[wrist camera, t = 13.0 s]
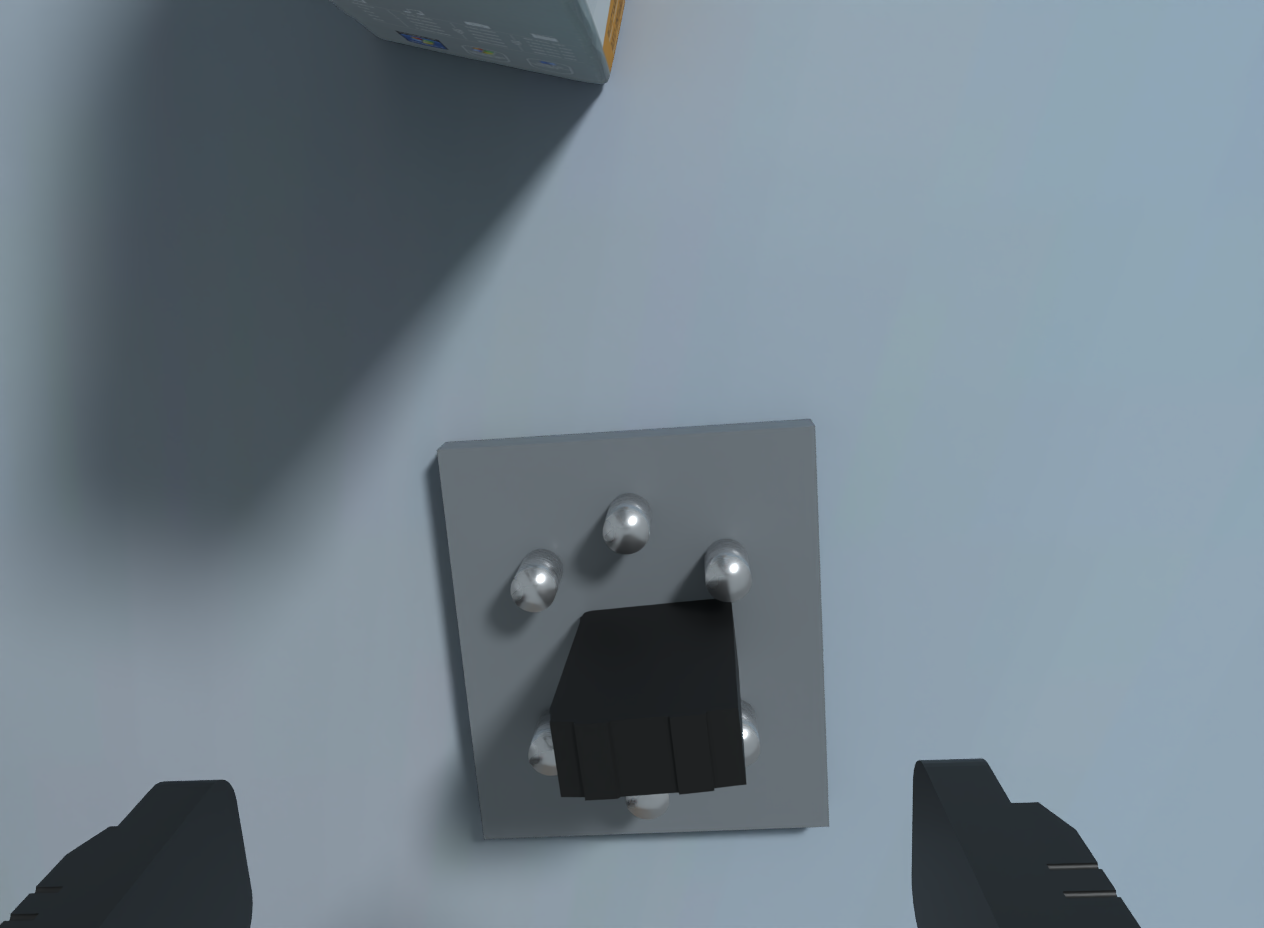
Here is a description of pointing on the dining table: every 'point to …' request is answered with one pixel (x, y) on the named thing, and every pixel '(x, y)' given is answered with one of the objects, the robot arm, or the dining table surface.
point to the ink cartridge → (650, 703)
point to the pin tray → (635, 576)
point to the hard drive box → (503, 31)
